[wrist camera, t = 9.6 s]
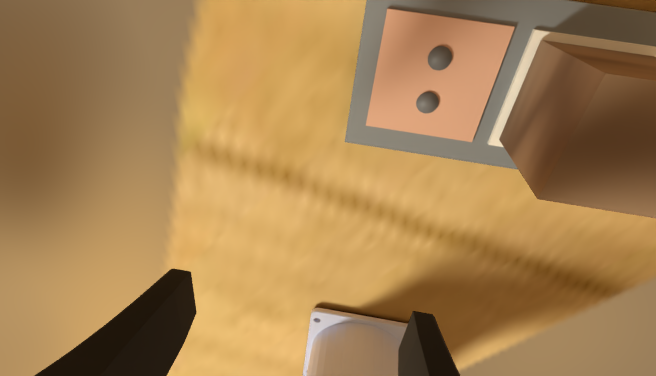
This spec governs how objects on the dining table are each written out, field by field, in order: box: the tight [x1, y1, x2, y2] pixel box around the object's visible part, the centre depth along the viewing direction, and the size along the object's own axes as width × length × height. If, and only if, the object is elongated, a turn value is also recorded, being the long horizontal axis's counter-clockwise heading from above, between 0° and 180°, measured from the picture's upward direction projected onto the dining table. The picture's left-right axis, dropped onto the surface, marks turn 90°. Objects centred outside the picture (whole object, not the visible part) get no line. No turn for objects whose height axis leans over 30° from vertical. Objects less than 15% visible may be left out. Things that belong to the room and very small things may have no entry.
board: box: [345, 0, 656, 169], centre depth 16 cm, size 8×13×1 cm, turn 83°
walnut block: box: [499, 40, 656, 218], centre depth 14 cm, size 4×4×5 cm
